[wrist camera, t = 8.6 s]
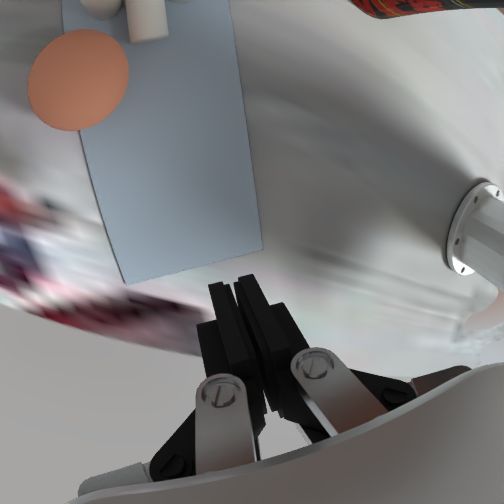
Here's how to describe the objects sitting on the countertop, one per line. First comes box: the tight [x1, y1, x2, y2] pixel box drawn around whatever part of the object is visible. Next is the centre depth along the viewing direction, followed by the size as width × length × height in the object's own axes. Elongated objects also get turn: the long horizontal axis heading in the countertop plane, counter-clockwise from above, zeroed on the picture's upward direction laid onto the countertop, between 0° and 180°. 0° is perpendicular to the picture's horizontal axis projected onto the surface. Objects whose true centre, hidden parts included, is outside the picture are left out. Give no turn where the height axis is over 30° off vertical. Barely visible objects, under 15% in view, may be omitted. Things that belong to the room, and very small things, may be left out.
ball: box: [28, 29, 129, 131], centre depth 14 cm, size 6×6×6 cm
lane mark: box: [61, 0, 263, 285], centre depth 18 cm, size 11×25×1 cm, turn 8°
